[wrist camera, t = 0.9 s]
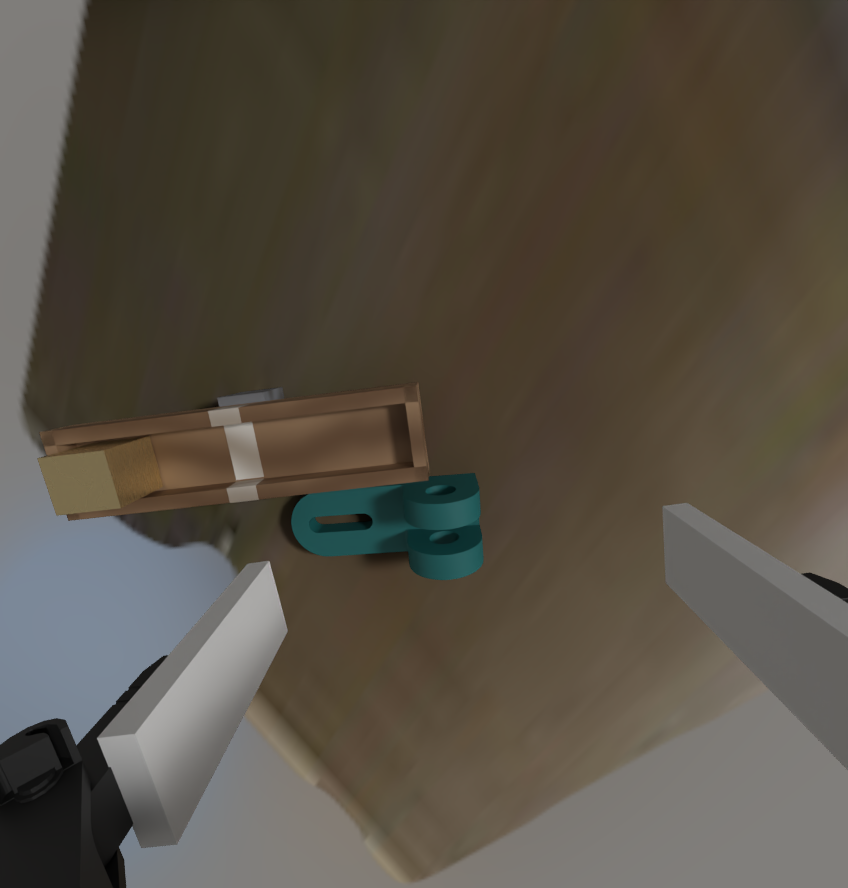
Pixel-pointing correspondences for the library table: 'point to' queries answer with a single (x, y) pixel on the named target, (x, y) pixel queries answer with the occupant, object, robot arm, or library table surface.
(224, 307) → the library table surface
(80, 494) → the block
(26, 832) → the robot arm
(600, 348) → the library table surface
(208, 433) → the brown long open piece
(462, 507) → the bracket
